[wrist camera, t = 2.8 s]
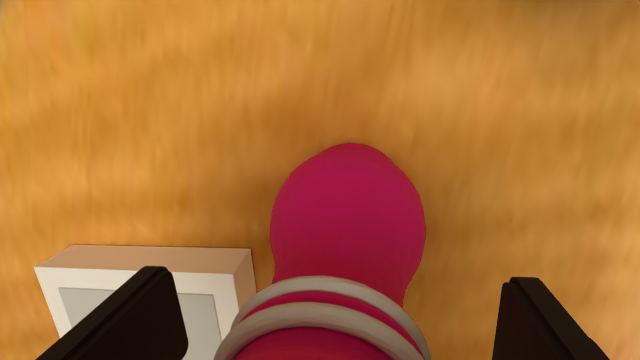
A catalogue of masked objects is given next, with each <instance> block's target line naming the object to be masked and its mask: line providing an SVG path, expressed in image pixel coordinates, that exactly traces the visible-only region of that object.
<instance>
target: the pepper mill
mask: <svg viewBox="0 0 640 360" xmlns="http://www.w3.org/2000/svg"><path fill="white" fill-rule="evenodd" d="M425 237H426V225H425V218H424V212H423V207H422V204H421V200H420V197H419V195H418V193H417V191H416V189H415V187H414V185H413V184H412V183H411V181H410V180H409V179H408V177H407V176H406V175H405V174H404V173H403V172H402V171H401V170H400V169H399V168H398V167H397V166H395V164H394V163H393V162H392V161H391V160H390V159H389V158H388V157H387V156H386V155H385V154H383V153H382V152H380V151H378V150H376V149H374V148H372V147H370V146H367V145H362V144H351V143H347V144H341V145H336V146H333V147H331V148H328V149H326V150H325V151H323V152H322V153H320V154H319V155H317V156H315V157H312V158H310V159H309V160H307V161H306V162H304V163H302V164H301V165H300V166H299V167H297V168H296V169H295V170H294V171H293V172H292V173H291V174H290V176H289V177H288V178H287V180H286V181H285V183H284V184H283V186H282V188H281V190H280V192H279V194H278V196H277V198H276V200H275V203H274V206H273V210H272V215H271V224H270V241H271V247H272V251H273V256H274V260H275V275H274V278H273V281H272V284H271V285H270V286H268V287H266V288H264V289H262V290H261V291H259V292H258V293H257V294H255V295H254V296H253V297H251V298H250V299H249V300H248V301H247V302H246V303H245V304H244V305H243V306H242V308H241V309H240V311H239V312H238V314H237V315H236V317H235V319H234V321H233V323H232V326H231V329H230V332H229V333H228V334H227V336H226V337H225V338H224V340H223V341H222V342H221V344H220V345H219V347H218V349H217V351H216V353H215V356H214V360H431V355H430V351H429V348H428V345H427V342H426V340H425V338H424V337H423V335H422V333H421V331H420V329H419V328H418V326H417V325H416V324H415V322H414V321H413V320H412V318H411V317H410V316H409V315H408V314H407V313H406V312H405V311H404V310H403V298H404V294H405V290H406V288H407V286H408V284H409V282H410V280H411V279H412V277H413V275H414V273H415V272H416V270H417V268H418V266H419V264H420V261H421V258H422V253H423V249H424V244H425Z"/></svg>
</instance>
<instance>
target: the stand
mask: <svg viewBox="0 0 640 360" xmlns="http://www.w3.org/2000/svg"><path fill="white" fill-rule="evenodd" d="M144 266H164V267H166V268H167V269H168V271H169V272H171V273H172V275H173V278H174V282H175V287H176V291H177V295H178V299H179V303H180V307H181V312H182V316H183V320H184V324H185V328H186V332H187V337H188V342H189V345H188V350H187V353H186V354H185V356H184V358H183V359H182V360H214V356H215V353H216V351H217V349H218V347H219V345H220V344H221V342H222V341H223V340H224V338H225V337H226V336H227V334H228V333H229V332H230V329H231V326H232V323H233V321H234V319H235V317H236V315H237V314H238V312H239V311H240V309H241V308H242V306H243V305H244V304H245V303H246V302H247V301H248V300H249V299H250V298H251V297H253V296H254V295H255V294H257V291H256V284H255V277H254V270H253V263H252V255H251V249H244V248H200V247H157V246H113V245H72V246H70V247H68V248H66V249H65V250H63V251H61V252H59V253H57V254H56V255H54V256H52V257H50V258H49V259H47V260H45V261H43V262H41V263H40V264H38V265H36V266H34V269H35V272H36V275H37V277H38V280H39V283H40V285H41V288H42V291H43V293H44V296H45V299H46V301H47V304H48V307H49V309H50V312H51V315H52V317H53V320H54V323H55V325H56V328H57V331H58V333H59V336H60V338H61V337H62V336H64V335H65V334H66V333H67V332H68V331H69V330H71V329H72V328H73V327H74V326H75V325H76V324H77V323H79V322H80V321H81V320H82V319H83V318H84V317H86V316H87V315H88V314H89V313H90V312H91V311H92V310H94V309H95V308H96V307H97V306H98V305H99V304H101V303H102V302H103V301H104V300H105V299H106V298H108V297H109V296H110V295H111V294H112V293H113V292H114V291H116V290H117V289H118V288H119V287H120V286H121V285H123V284H124V283H125V282H126V281H127V280H128V279H129V278H131V277H132V276H133V275H134V274H135V273H136V272H138V271H139V270H140V269H141V268H143V267H144Z"/></svg>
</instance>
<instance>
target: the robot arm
mask: <svg viewBox="0 0 640 360" xmlns="http://www.w3.org/2000/svg"><path fill="white" fill-rule="evenodd" d="M188 345H189V342H188V337H187V332H186V328H185V324H184V320H183V316H182V312H181V307H180V303H179V299H178V295H177V291H176V287H175V282H174V278H173V275H172V273H171V272H169V271H168V269H167V268H166V267H164V266H144V267H143V268H141V269H140V270H139V271H138V272H136V273H135V274H134V275H133V276H132V277H131V278H129V279H128V280H127V281H126V282H125V283H124V284H123V285H121V286H120V287H119V288H118V289H117V290H116V291H114V292H113V293H112V294H111V295H110V296H109V297H108V298H106V299H105V300H104V301H103V302H102V303H101V304H99V305H98V306H97V307H96V308H95V309H94V310H92V311H91V312H90V313H89V314H88V315H87V316H86V317H84V318H83V319H82V320H81V321H80V322H79V323H77V324H76V325H75V326H74V327H73V328H72V329H71V330H69V331H68V332H67V333H66V334H65V335H64V336H62V337H61V338H60V339H59V340H58V341H57V342H56V343H54V344H53V345H52V346H51V347H50V348H49V349H47V350H46V351H45V352H44V353H43V354H42V355H40V356H39V357H38V358H37V359H36V360H182V359H183V358H184V356H185V354H186V353H187V350H188ZM492 360H610V359H609V358H608V357H607V356H606V355H605V353H604V352H603V351H602V350H601V349H600V347H599V346H598V345H597V344H596V343H595V342H594V341H593V340H592V339H591V338H589V337H588V336H587V335H586V334H585V333H584V331H583V330H582V329H581V328H580V327H579V325H578V324H577V323H576V322H575V321H574V319H573V318H572V317H571V316H570V315H569V313H568V312H567V311H566V310H565V309H564V307H563V306H562V305H561V304H560V303H559V301H558V300H557V299H556V298H555V297H554V295H553V294H552V293H551V292H550V291H549V290H548V288H547V287H546V286H545V285H544V284H543V282H542V281H541V280H540V279H539V278H534V277H512V278H511V279H510V281H509V283H508V282H505V283H504V284H503V286H502V291H501V298H500V306H499V313H498V320H497V327H496V334H495V341H494V348H493V356H492Z"/></svg>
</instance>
